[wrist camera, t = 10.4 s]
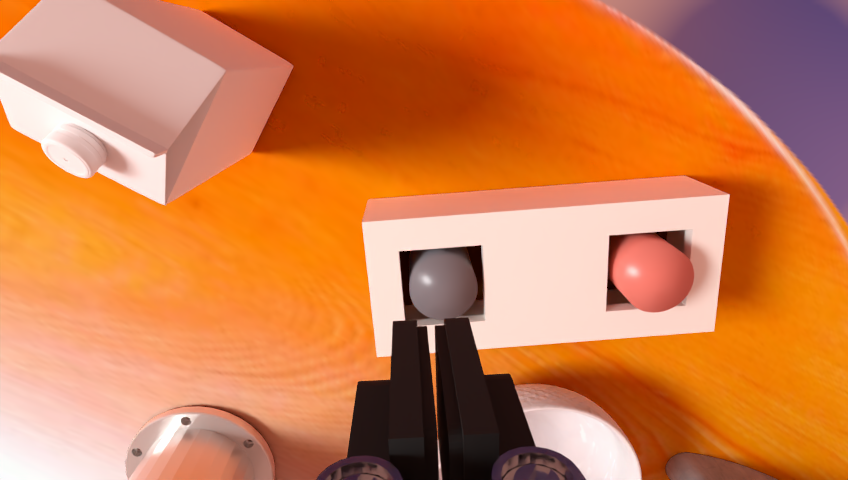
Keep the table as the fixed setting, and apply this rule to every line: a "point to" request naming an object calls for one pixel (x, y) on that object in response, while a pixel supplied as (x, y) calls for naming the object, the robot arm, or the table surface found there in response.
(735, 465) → the hip flask
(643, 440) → the table surface
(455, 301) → the grey rounded cylinder
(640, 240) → the red plunger
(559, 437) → the cereal bowl
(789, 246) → the table surface
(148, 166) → the milk carton
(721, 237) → the box
